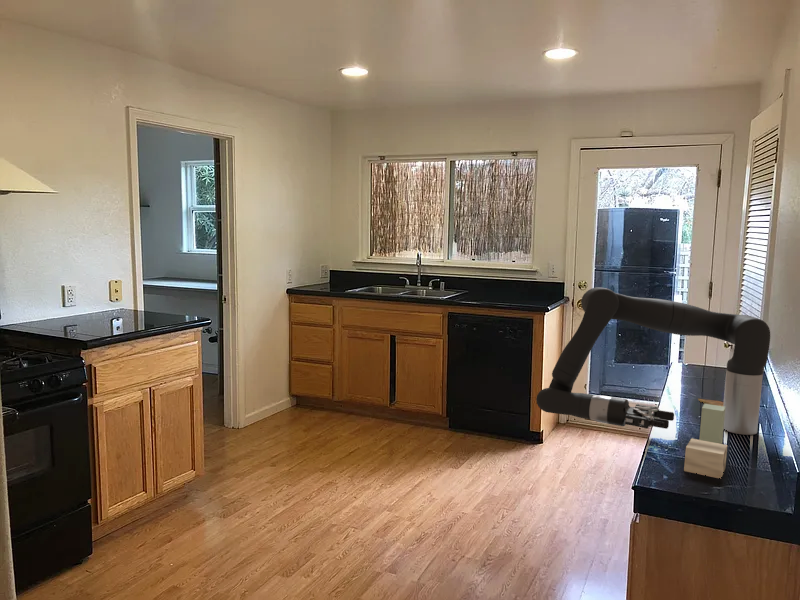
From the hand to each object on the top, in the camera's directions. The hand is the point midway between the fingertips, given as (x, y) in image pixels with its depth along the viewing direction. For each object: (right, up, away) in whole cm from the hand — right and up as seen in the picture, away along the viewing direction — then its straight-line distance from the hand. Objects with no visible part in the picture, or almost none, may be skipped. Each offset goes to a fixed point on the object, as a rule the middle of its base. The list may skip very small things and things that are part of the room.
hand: (671, 420), depth 172 cm
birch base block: (+1, -9, -17) cm, 19 cm away
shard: (+32, -4, +41) cm, 52 cm away
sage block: (+8, -7, -4) cm, 12 cm away
